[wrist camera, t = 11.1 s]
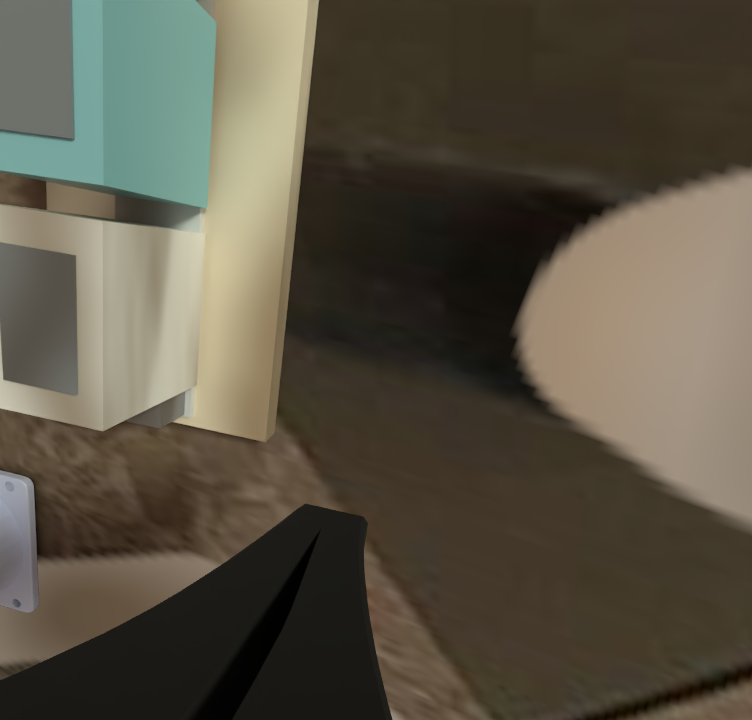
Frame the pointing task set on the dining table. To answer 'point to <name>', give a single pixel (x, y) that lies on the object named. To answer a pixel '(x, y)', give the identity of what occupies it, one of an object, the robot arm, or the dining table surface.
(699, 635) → the dining table surface
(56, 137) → the teal module
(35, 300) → the board
